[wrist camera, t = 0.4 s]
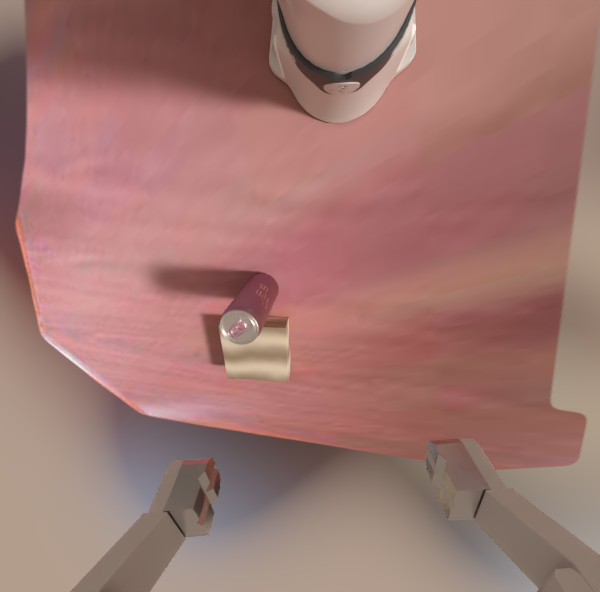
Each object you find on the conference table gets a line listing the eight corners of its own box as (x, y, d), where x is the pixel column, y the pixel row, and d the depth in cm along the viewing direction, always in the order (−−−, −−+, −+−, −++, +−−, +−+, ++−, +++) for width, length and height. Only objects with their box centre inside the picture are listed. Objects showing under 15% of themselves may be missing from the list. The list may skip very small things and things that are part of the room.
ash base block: (225, 315, 53) (218, 325, 49) (288, 317, 51) (285, 327, 48) (233, 365, 58) (227, 378, 55) (290, 368, 57) (288, 381, 53)
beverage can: (242, 286, 50) (209, 326, 36) (262, 265, 47) (235, 301, 34) (265, 306, 51) (241, 353, 37) (285, 287, 49) (268, 330, 35)
